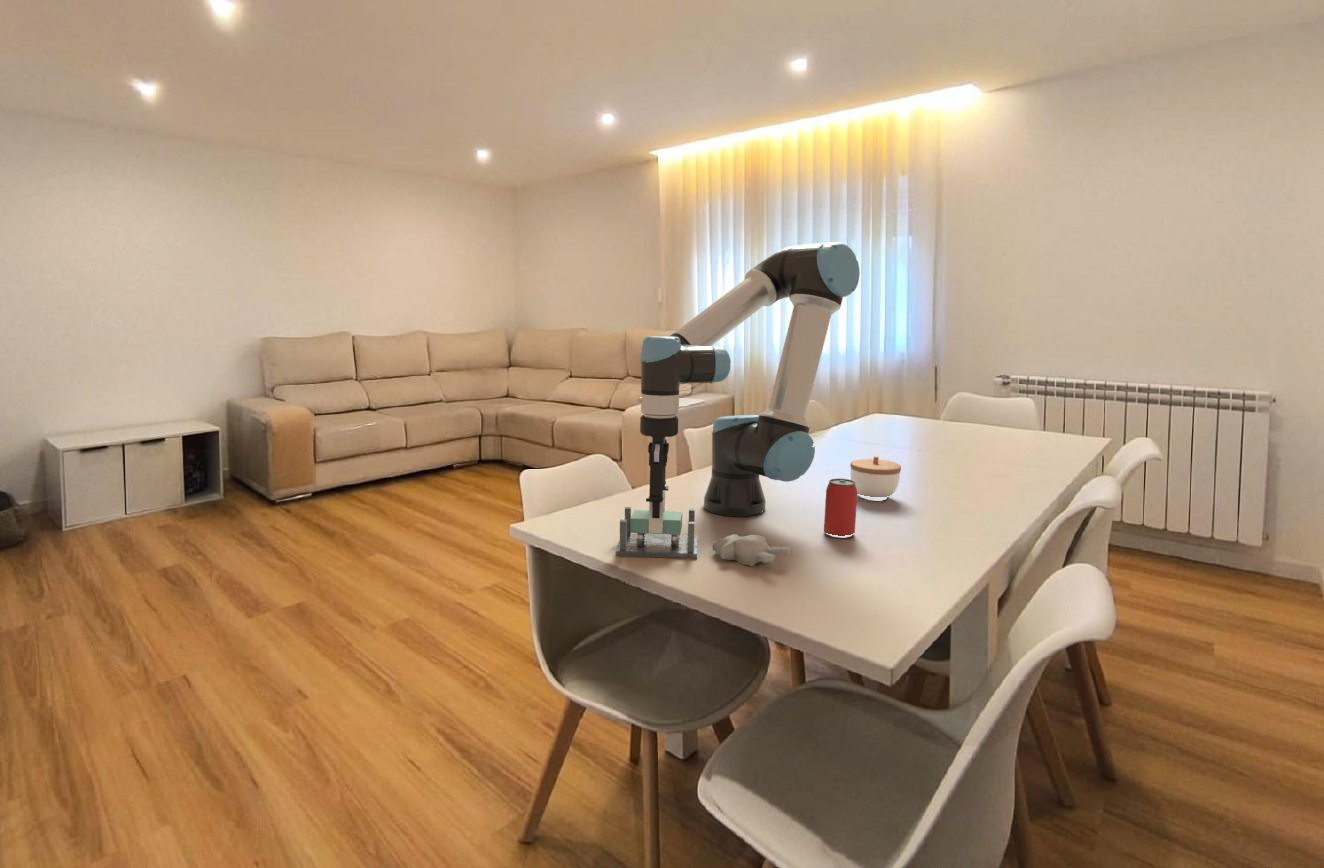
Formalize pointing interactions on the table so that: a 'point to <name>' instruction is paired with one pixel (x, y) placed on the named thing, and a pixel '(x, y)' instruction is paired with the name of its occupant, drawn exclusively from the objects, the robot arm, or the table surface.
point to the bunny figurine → (747, 549)
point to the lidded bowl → (875, 476)
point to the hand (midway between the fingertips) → (656, 526)
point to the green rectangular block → (670, 522)
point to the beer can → (840, 507)
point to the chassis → (656, 542)
